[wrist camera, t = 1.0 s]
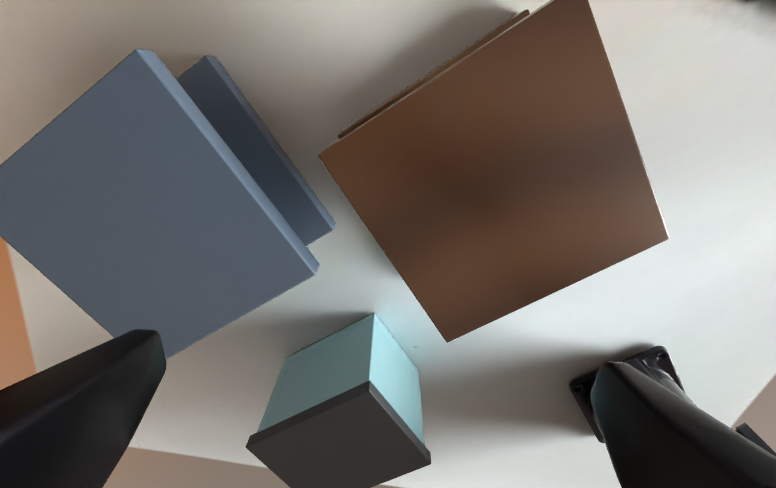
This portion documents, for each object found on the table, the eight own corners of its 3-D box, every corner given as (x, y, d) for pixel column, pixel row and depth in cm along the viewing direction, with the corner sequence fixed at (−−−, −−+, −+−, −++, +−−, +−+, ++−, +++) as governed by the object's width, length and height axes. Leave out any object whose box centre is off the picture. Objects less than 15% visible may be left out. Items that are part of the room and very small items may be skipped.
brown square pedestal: (596, 194, 20) (670, 238, 15) (434, 278, 23) (447, 343, 17) (521, 11, 17) (582, -19, 11) (339, 132, 19) (317, 155, 14)
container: (422, 371, 26) (431, 464, 20) (332, 412, 27) (314, 509, 21) (375, 308, 24) (369, 390, 17) (280, 357, 25) (245, 447, 19)
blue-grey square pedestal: (336, 223, 21) (316, 274, 16) (206, 300, 24) (149, 369, 18) (215, 55, 18) (135, 47, 12) (76, 165, 20) (-43, 199, 15)
